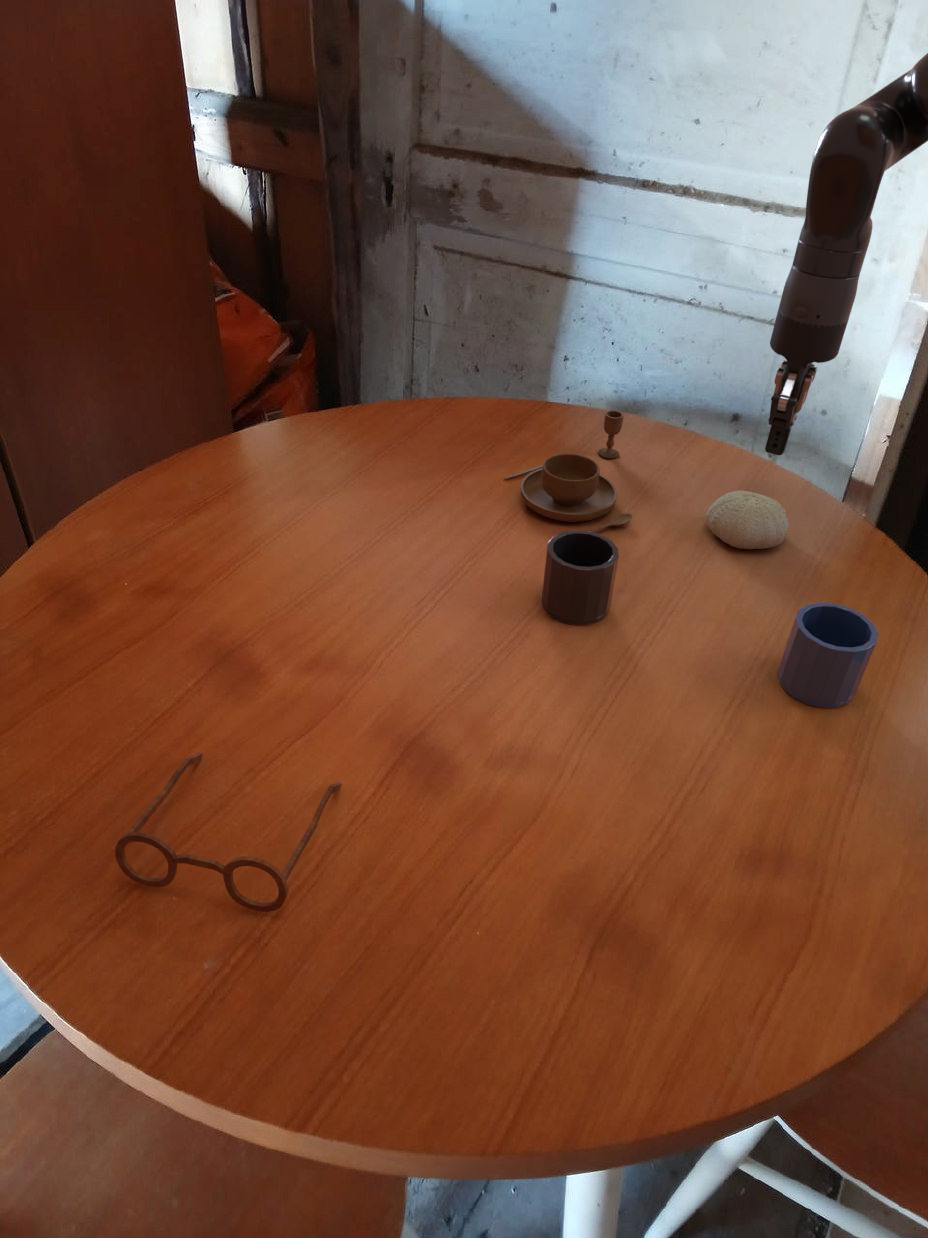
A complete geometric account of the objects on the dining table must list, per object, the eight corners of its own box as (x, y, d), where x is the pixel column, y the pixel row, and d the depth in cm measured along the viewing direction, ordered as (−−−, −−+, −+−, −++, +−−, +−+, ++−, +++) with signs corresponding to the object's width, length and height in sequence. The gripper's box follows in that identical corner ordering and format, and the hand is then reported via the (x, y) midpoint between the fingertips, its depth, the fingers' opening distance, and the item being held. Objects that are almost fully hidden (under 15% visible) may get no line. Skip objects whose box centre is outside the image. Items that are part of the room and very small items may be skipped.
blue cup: (859, 673, 89) (882, 617, 84) (848, 718, 84) (871, 660, 79) (785, 649, 91) (804, 594, 87) (770, 692, 86) (788, 635, 82)
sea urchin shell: (728, 489, 112) (780, 465, 106) (757, 545, 113) (810, 525, 106) (686, 515, 107) (738, 491, 100) (716, 574, 107) (770, 554, 101)
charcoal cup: (618, 596, 97) (628, 542, 93) (594, 633, 92) (603, 577, 88) (557, 577, 100) (563, 523, 95) (530, 611, 95) (536, 556, 90)
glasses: (119, 882, 67) (105, 840, 64) (198, 756, 77) (189, 714, 74) (286, 921, 65) (280, 878, 62) (345, 786, 75) (342, 744, 72)
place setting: (487, 481, 116) (489, 439, 112) (607, 446, 125) (612, 406, 121) (572, 547, 104) (578, 503, 101) (697, 503, 113) (706, 460, 110)
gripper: (839, 336, 94) (794, 482, 104) (858, 299, 103) (815, 437, 114) (766, 321, 96) (730, 466, 107) (791, 287, 106) (756, 423, 116)
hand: (774, 451), depth 110 cm, fingers closed
